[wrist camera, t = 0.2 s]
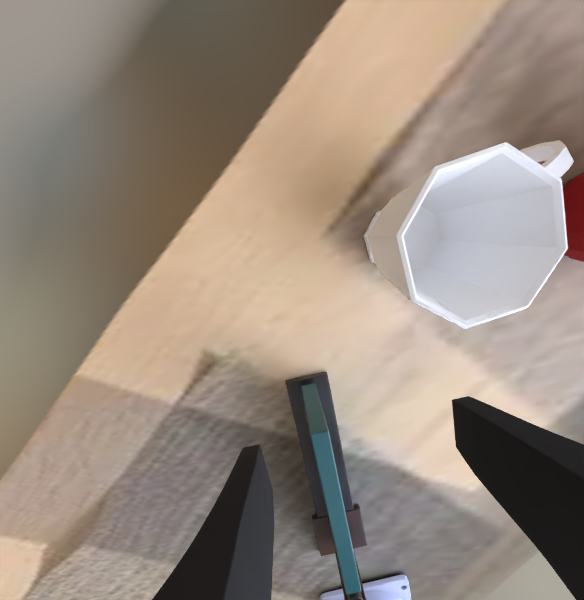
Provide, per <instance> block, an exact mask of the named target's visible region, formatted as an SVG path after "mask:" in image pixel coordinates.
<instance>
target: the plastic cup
mask: <svg viewBox="0 0 584 600" xmlns="http://www.w3.org/2000/svg"><path fill="white" fill-rule="evenodd" d="M563 198H564V209H565V221H566V232H567V244H568V249H567V251H566V252H565V254H564V255H566V256H569V257H570V258H572V259H576V260H579V261H583V262H584V173H582V174H580V175H579V176H577V177H575V178H574V179H572V180H570V181H569V182H567V183H566V184H565V186H564V187H563Z"/></svg>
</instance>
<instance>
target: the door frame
mask: <svg viewBox="0 0 584 600" xmlns="http://www.w3.org/2000/svg"><path fill="white" fill-rule="evenodd" d="M312 383H315V385H316V388H317V392H318V395H319V399H320V402H321V406H322V409H323V413H324V416H325V420H326V423H327V427H328V430H329V435H330V440H331V445H332V449H333V454H334V459H335V464H336V469H337V474H338V478H339V483H340V488H341V493H342V498H343V503H344V507H345V512H346V517H347V522H348V527H349V532H350V537H351V541H352V546H353V548H357V547H362V546H366V545H367V543H366V538H365V532H364V527H363V522H362V517H361V511H360V507H359V505H355V506H353V502H352V497H351V492H350V487H349V482H348V477H347V472H346V467H345V462H344V457H343V451H342V446H341V441H340V436H339V431H338V426H337V421H336V416H335V411H334V406H333V401H332V396H331V390H330V385H329V380H328V375H327V372H322V373H318V374H313V375H309V376H304V377H300V378H295V379H291V380H286V385H287V389H288V394H289V398H290V402H291V406H292V410H293V415H294V419H295V423H296V427H297V432H298V436H299V440H300V444H301V448H302V453H303V457H304V461H305V465H306V469H307V474H308V478H309V482H310V486H311V490H312V495H313V499H314V503H315V507H316V511H317V515H313V516H312V521H313V525H314V529H315V534H316V538H317V542H318V546H319V550H320V554H321V556H324V555H328V554H332V553H335V549H334V545H333V540H332V536H331V531H330V527H329V522H328V517H327V513H328V512H327V508H326V503H325V499H324V494H323V490H322V485H321V481H320V476H319V472H318V467H317V463H316V458H315V454H314V449H313V445H312V441H311V437H310V436H309V432H308V427H307V423H306V418H305V412H304V406H305V405H304V399H303V394H302V389H301V386H303V385H308V384H312ZM353 551H354V550H353ZM335 554H336V553H335ZM354 556H355V554H354ZM336 559H337V558H336ZM355 561H356V558H355ZM337 564H338V562H337ZM356 566H357V570H358V575H359V580H360V585H361V591H360V592H356V593H352V594H346V591H345V587H344V583H342V580H341V584H342V589H343V594H344V599H345V600H366V597H365V593H364V589H363V585H362V581H361V577H360V573H359V569H358V565H357V562H356ZM338 569H339V567H338ZM339 574H340V571H339ZM340 579H341V575H340Z"/></svg>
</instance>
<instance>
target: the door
mask: <svg viewBox="0 0 584 600" xmlns="http://www.w3.org/2000/svg"><path fill="white" fill-rule="evenodd" d="M301 389H302V394H303V399H304V405H305V406H304V412H305V418H306V423H307V427H308V432H309V436H310V437H311V441H312V445H313V449H314V454H315V458H316V463H317V467H318V472H319V476H320V481H321V485H322V490H323V494H324V499H325V503H326V508H327V512H328V513H327V517H328V522H329V527H330V531H331V536H332V540H333V545H334V549H335V553H336V558H337V562H338V567H339V571H340V575H341V580H342V583H344V587H345V591H346V594H352V593H356V592H360V591H361V585H360V580H359V575H358V570H357V566H356V561H355V556H354V551H353V546H352V541H351V537H350V532H349V527H348V522H347V517H346V512H345V507H344V503H343V498H342V493H341V488H340V483H339V478H338V474H337V469H336V464H335V459H334V454H333V449H332V445H331V440H330V435H329V430H328V427H327V423H326V420H325V416H324V413H323V409H322V406H321V402H320V399H319V395H318V392H317V388H316V385H315V383H312V384H308V385H303V386H301Z"/></svg>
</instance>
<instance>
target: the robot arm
mask: <svg viewBox="0 0 584 600" xmlns="http://www.w3.org/2000/svg"><path fill="white" fill-rule="evenodd" d="M452 405H453V417H454V429H455V440H456V447H457V449H458V450H459V452H460V453H461V455H462V456H463V458H464V459H465V461H466V462H467V464H468V465H469V467H470V468H471V469H472V471H473V472H474V474H475V475H476V476H477V478H478V479H479V480H480V481H481V482H482V484H483V485H484V486H485V487H486V488H487V489H488V491H489V492H490V493H491V494H492V495H493V497H494V498H495V499H496V500H497V501H498V502H499V504H500V505H501V506H502V507H503V508H504V509H505V511H506V512H507V513H508V514H509V515H510V516H511V518H512V519H513V520H514V521H515V522H516V523H517V525H518V526H519V527H520V528H521V529H522V531H523V532H524V533H525V534H526V535H527V536H528V538H529V539H530V540H531V541H532V542H533V543H534V545H535V546H536V547H537V548H538V550H539V551H540V552H541V553H542V555H543V556H544V557H545V558H546V559H547V561H548V562H549V564H550V565H551V566H552V567H553V569H554V570H555V572H556V573H557V574H558V576H559V577H560V578H561V580H562V581H563V582H564V584H565V585H566V587H567V588H568V589H569V591H570V592H571V593H572V595H573V596H574V597H575V599H576V600H584V445H583V444H581V443H578V442H575V441H573V440H570V439H568V438H565V437H563V436H560V435H557V434H555V433H553V432H550V431H548V430H545V429H543V428H540V427H538V426H536V425H533V424H531V423H529V422H526V421H524V420H522V419H519V418H517V417H515V416H513V415H510V414H508V413H506V412H504V411H501V410H499V409H497V408H495V407H492V406H490V405H488V404H486V403H483V402H481V401H479V400H476V399H474V398H471V397H469V396H467V397H463V398H459V399H454V400H452ZM273 542H274V507H273V490H272V486H271V482H270V479H269V475H268V472H267V468H266V465H265V461H264V457H263V454H262V450H261V447H260V444H259V445H254V446H250V447H246V448H243V449H242V451H241V453H240V455H239V457H238V459H237V461H236V463H235V466H234V468H233V470H232V472H231V474H230V476H229V478H228V480H227V482H226V484H225V486H224V488H223V490H222V492H221V493H220V495H219V497H218V499H217V501H216V503H215V505H214V507H213V508H212V510H211V512H210V514H209V515H208V517H207V519H206V520H205V522H204V524H203V525H202V527H201V529H200V531H199V532H198V534H197V536H196V537H195V539H194V540H193V542H192V544H191V545H190V547H189V548H188V550H187V551H186V553H185V554H184V556H183V557H182V559H181V560H180V562H179V563H178V565H177V566H176V568H175V569H174V570H173V572H172V573H171V575H170V576H169V577H168V579H167V580H166V582H165V583H164V584H163V586H162V587H161V588H160V590H159V591H158V593H157V594H156V595H155V596H154V598H153V599H152V600H271V589H272V566H273ZM362 585H363V589H364V593H365V597H366V600H411V595H410V588H409V582H408V579H407V577H406V576H405V575H397V576H393V577H389V578H385V579H380V580H376V581H372V582H368V583H364V584H362ZM320 600H345V599H344V594H343V589H339V590H334V591H330V592H326V593H323V594H321V596H320Z"/></svg>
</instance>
